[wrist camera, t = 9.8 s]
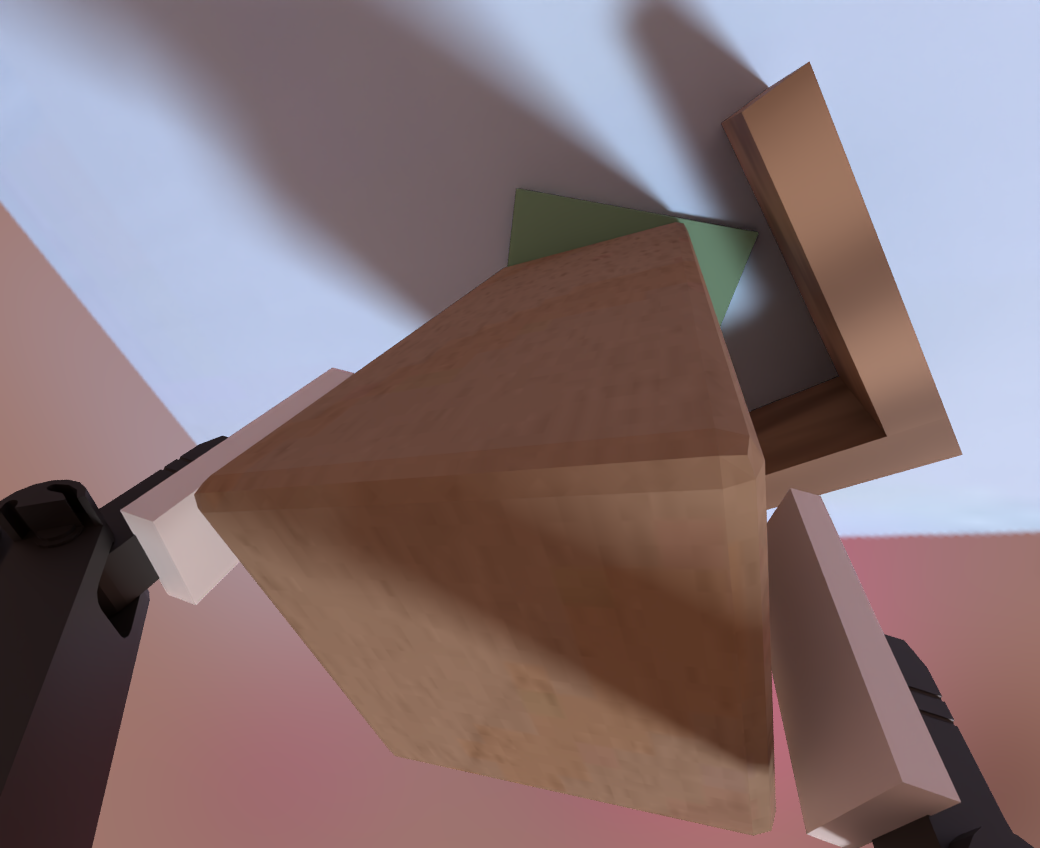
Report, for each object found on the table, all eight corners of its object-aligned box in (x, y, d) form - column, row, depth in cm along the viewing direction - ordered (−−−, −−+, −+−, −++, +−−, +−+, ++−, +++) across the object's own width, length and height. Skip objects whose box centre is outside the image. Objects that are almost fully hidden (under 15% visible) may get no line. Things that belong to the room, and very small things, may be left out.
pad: (495, 387, 29) (493, 390, 29) (518, 188, 22) (516, 188, 22) (674, 434, 27) (674, 437, 27) (757, 231, 21) (758, 232, 20)
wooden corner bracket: (443, 330, 28) (396, 367, 23) (769, 87, 18) (809, 61, 13) (577, 505, 32) (562, 567, 28) (896, 389, 22) (962, 454, 18)
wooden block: (686, 217, 21) (773, 448, 4) (704, 399, 25) (781, 851, 9) (498, 268, 24) (169, 493, 8) (543, 418, 29) (388, 761, 13)
